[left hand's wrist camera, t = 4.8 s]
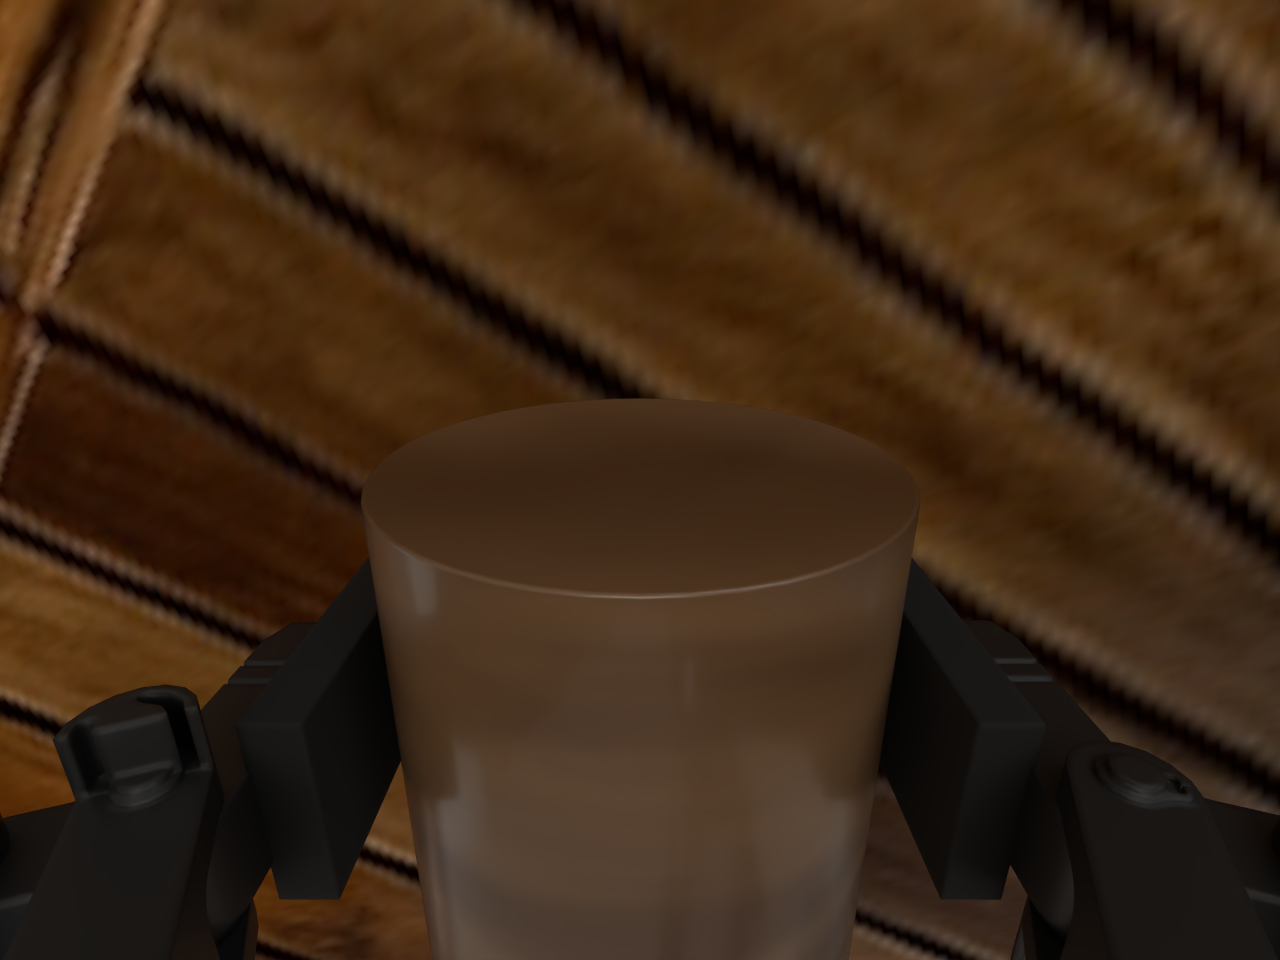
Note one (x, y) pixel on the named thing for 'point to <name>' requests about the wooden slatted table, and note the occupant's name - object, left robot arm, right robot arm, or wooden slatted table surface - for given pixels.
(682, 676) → the rod
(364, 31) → the wooden slatted table surface
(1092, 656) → the wooden slatted table surface
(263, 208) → the wooden slatted table surface
